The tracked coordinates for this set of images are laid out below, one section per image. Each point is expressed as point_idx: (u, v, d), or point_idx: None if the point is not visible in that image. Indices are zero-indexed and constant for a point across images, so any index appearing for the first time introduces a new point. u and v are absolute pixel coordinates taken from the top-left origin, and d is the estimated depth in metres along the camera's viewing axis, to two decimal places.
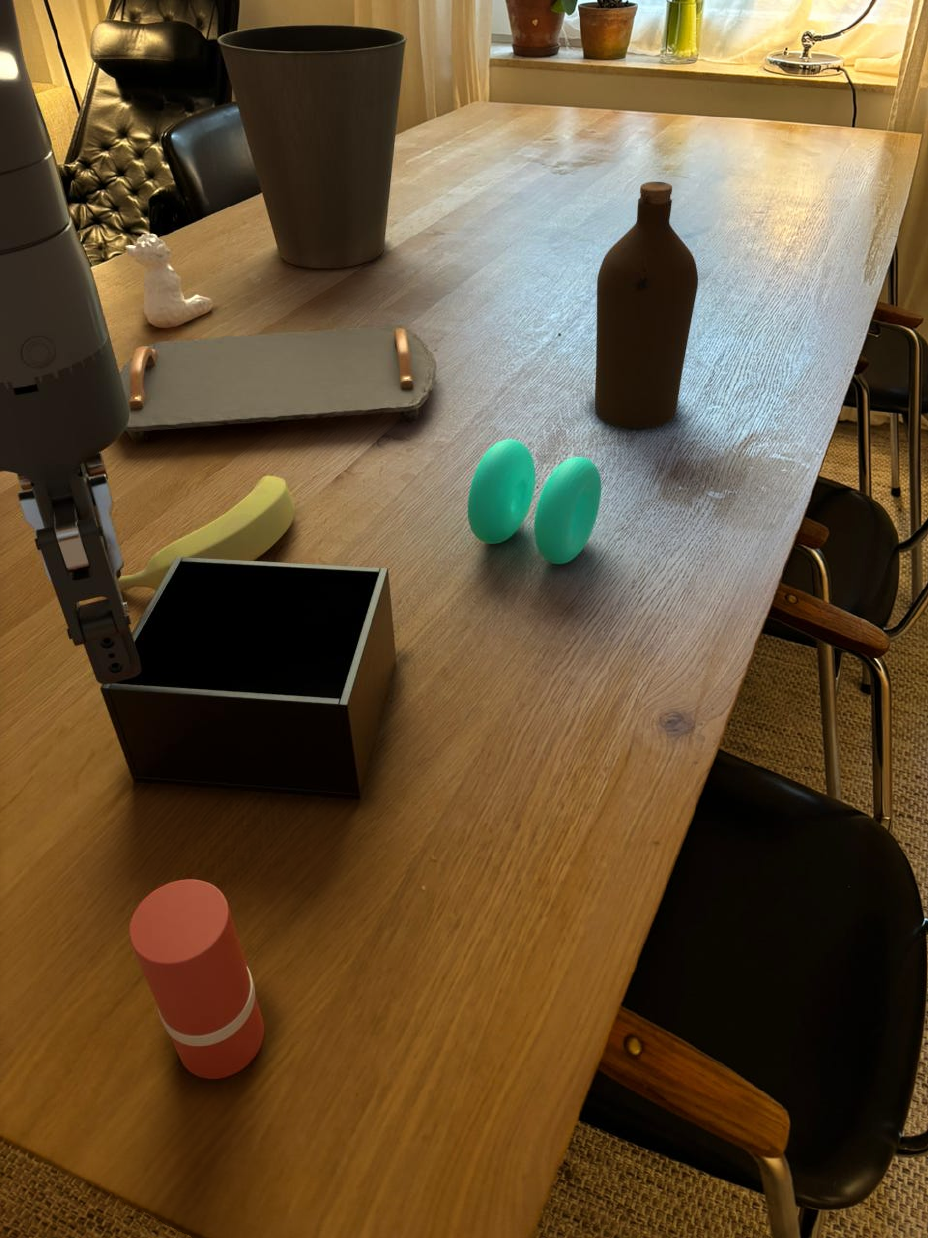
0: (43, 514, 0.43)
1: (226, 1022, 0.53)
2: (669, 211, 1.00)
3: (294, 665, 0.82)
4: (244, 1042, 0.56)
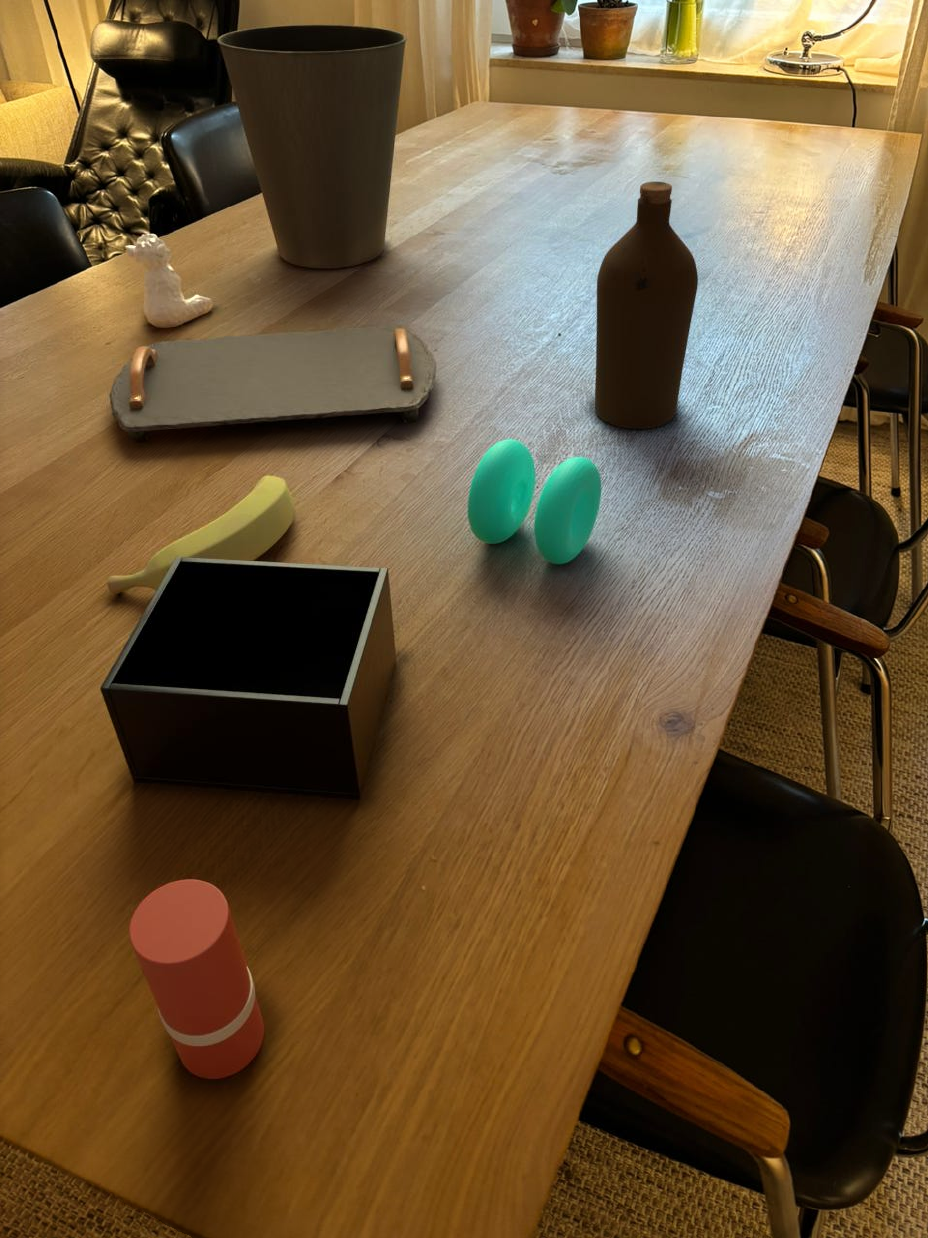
0: None
1: (226, 1022, 0.53)
2: (669, 211, 1.00)
3: (294, 665, 0.82)
4: (244, 1042, 0.56)
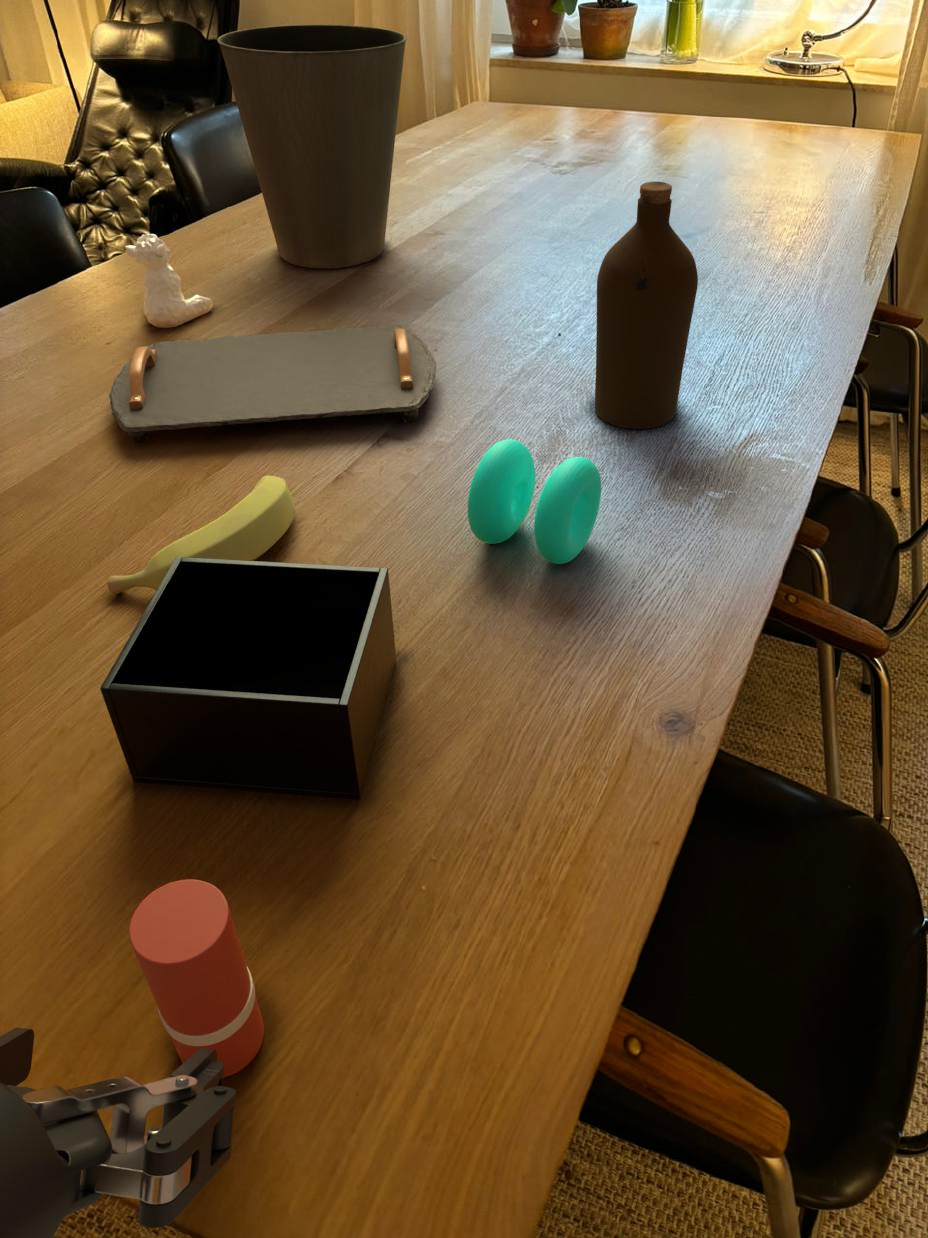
0: None
1: (226, 1022, 0.53)
2: (669, 211, 1.00)
3: (294, 665, 0.82)
4: (244, 1042, 0.56)
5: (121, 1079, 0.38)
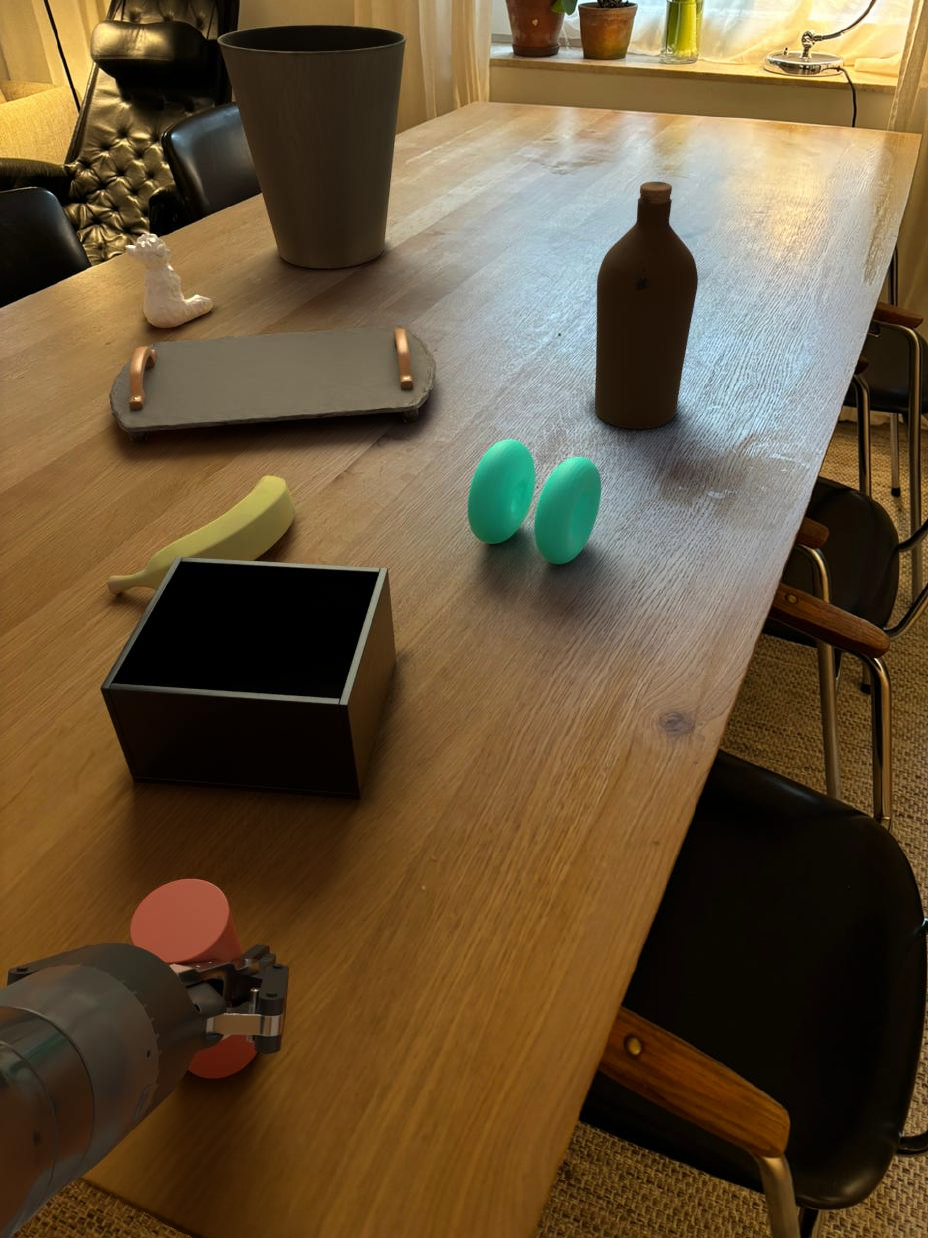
0: None
1: None
2: (669, 211, 1.00)
3: (294, 665, 0.82)
4: (244, 1042, 0.56)
5: (212, 959, 0.50)
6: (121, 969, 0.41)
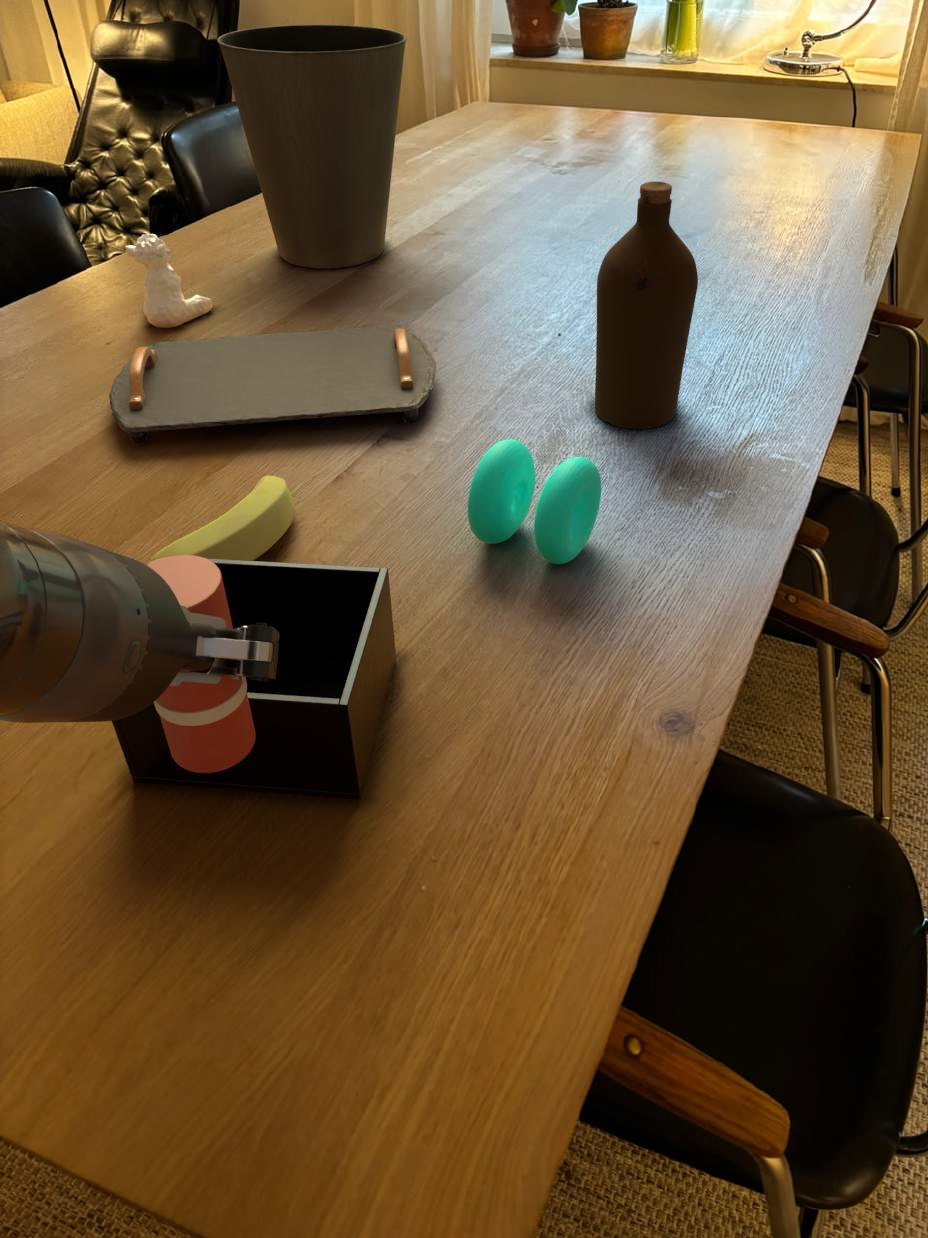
0: None
1: (218, 700, 0.54)
2: (669, 211, 1.00)
3: (294, 665, 0.82)
4: (235, 733, 0.56)
5: None
6: (113, 552, 0.42)
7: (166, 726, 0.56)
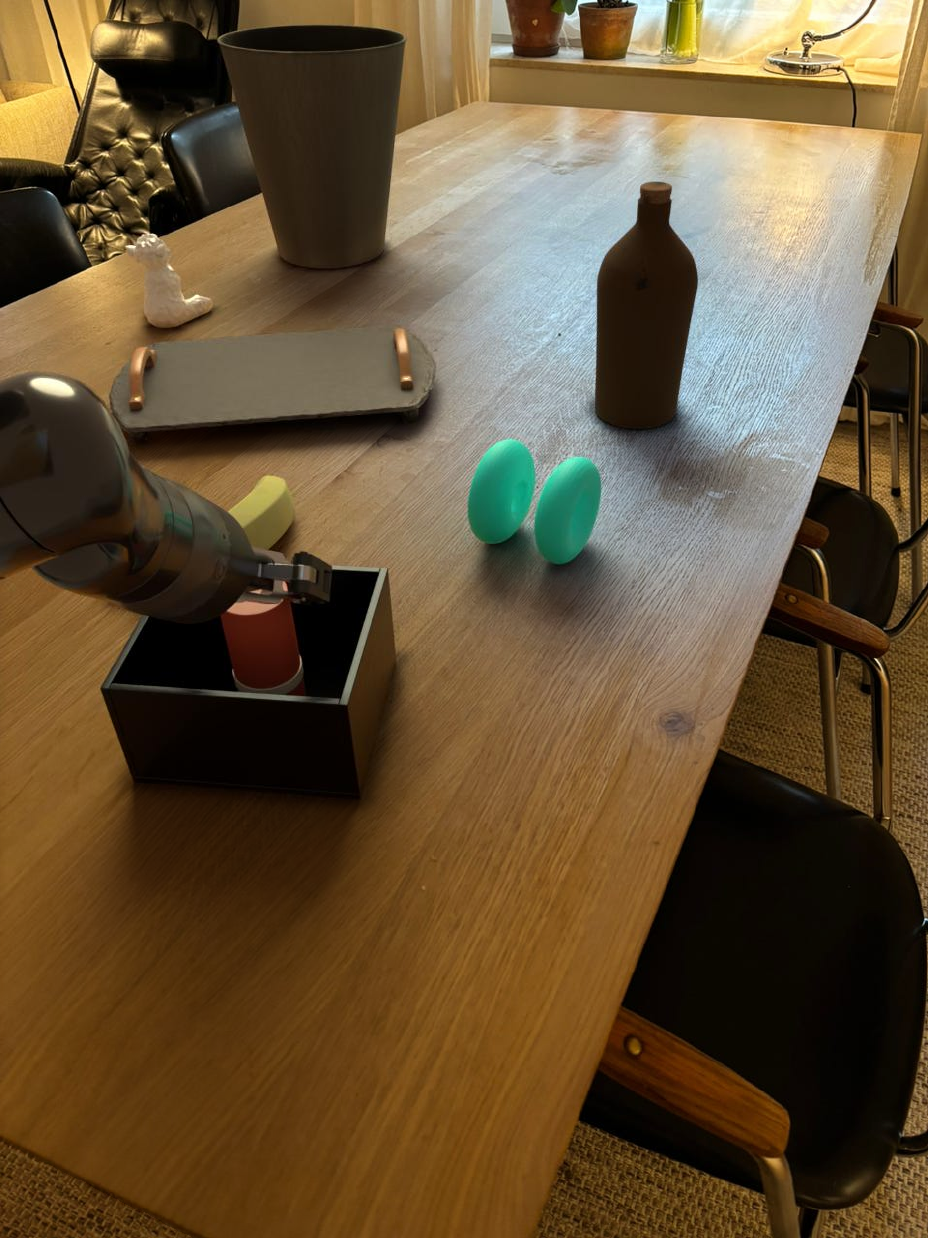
0: None
1: (284, 680, 0.73)
2: (669, 211, 1.00)
3: None
4: None
5: None
6: None
7: None
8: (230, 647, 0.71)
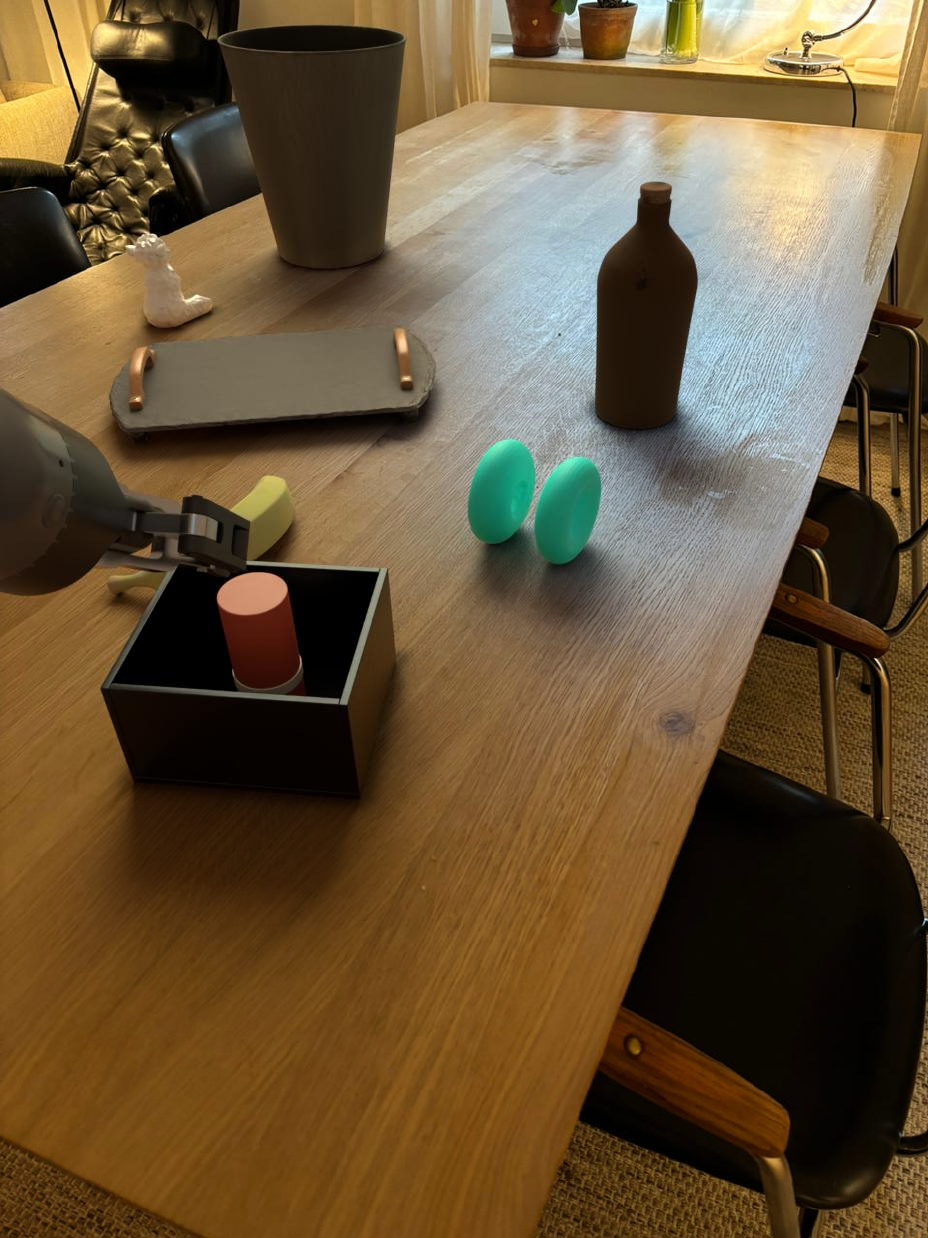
0: None
1: (284, 680, 0.73)
2: (669, 211, 1.00)
3: None
4: None
5: None
6: None
7: None
8: (230, 647, 0.71)
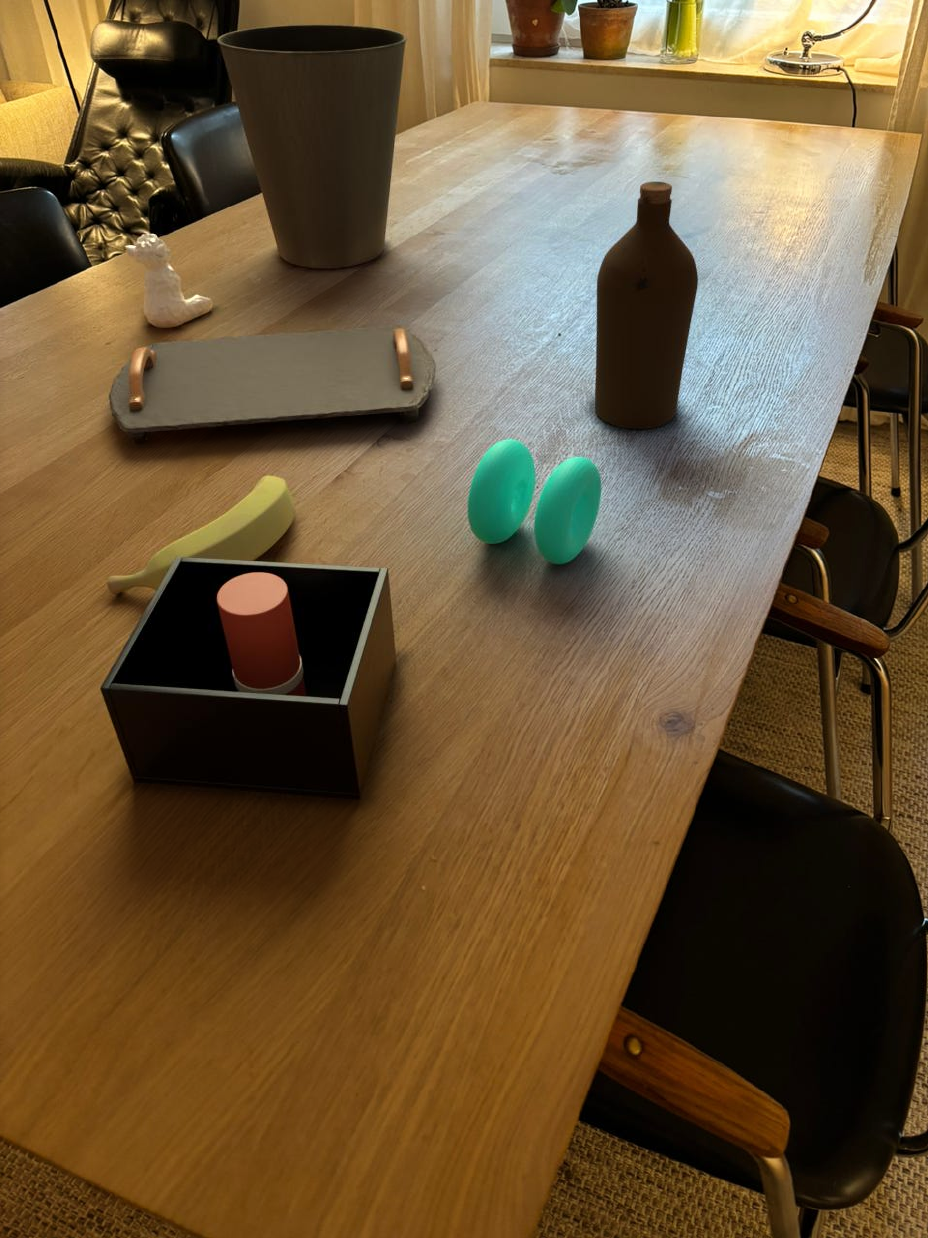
0: None
1: (284, 680, 0.73)
2: (669, 211, 1.00)
3: None
4: None
5: None
6: None
7: None
8: (230, 647, 0.71)
